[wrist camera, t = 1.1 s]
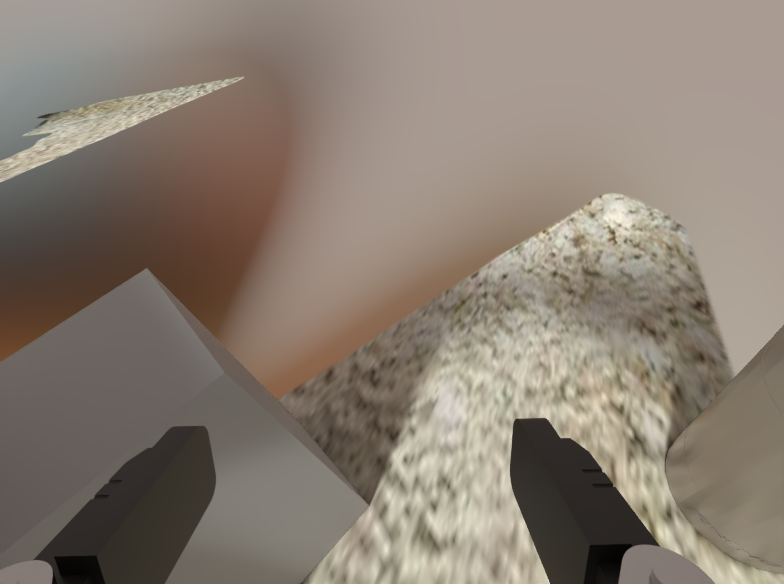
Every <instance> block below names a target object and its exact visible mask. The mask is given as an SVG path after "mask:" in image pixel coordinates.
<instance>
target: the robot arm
mask: <svg viewBox="0 0 784 584" xmlns="http://www.w3.org/2000/svg"><path fill="white" fill-rule="evenodd" d="M665 464H666V478H667V481H668V485H669V489H670V491H671V494H672V496H673V498H674V500H675V502H676V504H677V506H678V507H679V509H680V510H681V511H682V513H683V514H684V516H685V517H686V519H687V520H688V521H689V522H690V523H691V524H692V525H693V526H694V528H695V529H696V530H697V531H698V532H699V533H700V534H701V535H702V536H703V537H705V538H706V539H707V540H708V541H709V542H711V543H712V544H713V545H714V546H716V547H717V548H718V549H720V550H721V551H723V552H725V553H726V554H728V555H730V556H731V557H733V558H735V559H736V560H738V561H740V562H743V563H745V564H748V565H750V566H752V567H755V568H757V569H761V570H765V571H769V572H773V573H779V574H784V326H783V327H782V328H781V329H780V330H779V331H778V332H777V333H776V334H775V335H774V337H773V338H772V339H771V340H770V341H769V342H768V343H767V344H766V345H765V346H764V347H763V348H762V349H761V350H760V351H759V353H757V355H756V356H755V357H754V358H753V359H752V360H751V361H750V362H749V363H748V364H747V365H746V366H745V367H744V368H743V369H742V370H741V371H740V373H739V374H738V375H737V376H736V377H735V378H734V379H733V380H732V381H731V382H730V383H729V384H728V385H727V386H726V387H725V388H724V389H723V390H722V391H721V393H720V394H719V395H718V396H717V397H716V398H715V399H714V400H713V401H712V402H711V403H710V404H709V405H708V406H707V407H706V408H705V409H704V410H703V411H702V413H701V414H700V415H699V416H697V417H696V418H695V419H694V421H693V422H692V423H691V424H690V425H689V426H688V427H687V428H686V429H685V430H684V431H683V432H682V433H681V434H680V435H679V436H678V437H677V438H676V440H675V441H674V442H673V444H672V445H671V447H670V449H669V450H668V454H667V458H666V462H665ZM510 477H511V484H512V489H513V492H514V495H515V498H516V500H517V503H518V505H519V508H520V510H521V513H522V515H523V518H524V520H525V523H526V525H527V528H528V530H529V532H530V535H531V537H532V540H533V542H534V545H535V547H536V550H537V552H538V555H539V557H540V559H541V562H542V564H543V567H544V569H545V572H546V574H547V577H548V579H549V582H550V584H715V583H714V582H713V581H712V579H711V578H710V577H709V576H708V575H707V574H706V573H705V572H703V571H702V570H701V569H700V568H699V567H698V566H696V565H695V564H694V563H692V562H691V561H689V560H688V559H686V558H684V557H683V556H681V555H679V554H677V553H675V552H673V551H671V550H668V549H666V548H662V547H660V546H659V544H658V543H657V542H656V540H655V539H654V538H653V536H652V535H651V534H650V532H649V531H648V530H647V528H646V527H645V526H644V524H643V523H642V522H641V520H640V519H639V518H638V516H637V515H636V514H635V512H634V511H633V510H632V509H631V507H630V506H629V505H628V503H627V502H626V501H625V499H624V498H623V497H622V495H621V494H620V493H619V491H618V490H617V489H616V487H613V483H612V482H611V481H610V479H609V478H608V477H607V475H606V474H605V473H603V472H602V469H601V467H600V466H599V465H598V463H597V462H596V461H595V459H594V458H593V457H592V455H591V454H590V453H589V452H588V451H587V450H585V449H584V448H583V447H581V446H580V445H579V444H577V443H576V442H575V441H573V440H572V439H571V438H560V437H559V435H558V434H557V432H556V431H555V430H554V428H553V427H552V425H551V424H550V422H549V421H548V420H547V419H546V418H530V419H515V421H514V425H513V436H512V449H511V462H510ZM215 486H216V472H215V466H214V461H213V455H212V450H211V444H210V439H209V434H208V430H207V428H206V427H205V426H174V427H171V428H170V429H169V430H168V431H167V432H166V433H165V434H164V435H163V436H162V437H161V438H160V439H159V441H158V442H157V443H156V444H155V445H154V446H153V447H152V448H147V449H145V450H144V451H142V452H141V453H139V454H138V455H136V456H135V457H133V458H132V459H130V460H129V461H127V462H126V463H125V464H124V465H123V466H122V467H121V468H120V469H119V470H118V471H117V472H116V473H115V474H114V475H113V476H112V477H111V478H110V479H109V483H108V484H105V485H104V486H103V487H102V488H101V489H100V490H99V491H98V492H97V493H96V494H95V497H94V499H90V501H89V502H88V503H87V504H86V505H85V506H84V507H83V508H82V509H81V510H80V511H79V512H78V513H77V514H76V515H75V516H74V517H73V518H72V519H71V521H70V522H69V523H68V524H67V525H66V526H65V527H64V528H63V529H62V530H61V531H60V532H59V533H58V534H57V535H56V536H55V537H54V538H53V539H52V541H51V542H50V543H49V544H48V545H47V546H46V547H45V548H44V549H43V550H42V551H41V552H40V553H39V554H38V555H37V556H36V557H35V558H34V559H33V560H31V561H25V562H21V563H17V564H14V565H11V566H9V567H6V568H4V569H2V570H0V584H165V582H166V581H167V579H168V577H169V575H170V574H171V572H172V570H173V568H174V566H175V565H176V563H177V561H178V559H179V558H180V556H181V554H182V552H183V550H184V549H185V547H186V545H187V543H188V542H189V540H190V538H191V536H192V534H193V533H194V531H195V529H196V527H197V526H198V524H199V522H200V520H201V518H202V517H203V515H204V513H205V511H206V510H207V508H208V506H209V504H210V502H211V500H212V498H213V495H214V491H215Z"/></svg>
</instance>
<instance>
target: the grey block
mask: <svg viewBox="0 0 784 584" xmlns="http://www.w3.org/2000/svg"><path fill="white" fill-rule="evenodd" d="M174 426H205V427H206V428H207V430H208V434H209V439H210V444H211V450H212V455H213V461H214V466H215V472H216V486H215V491H214V495H213V498H212V500H211V502H210V504H209V506H208V508H207V510H206V511H205V513H204V515H203V517H202V518H201V520H200V522H199V524H198V526H197V527H196V529H195V531H194V533H193V534H192V536H191V538H190V540H189V542H188V543H187V545H186V547H185V549H184V550H183V552H182V554H181V556H180V558H179V559H178V561H177V563H176V565H175V566H174V568H173V570H172V572H171V574H170V575H169V577H168V579H167V581H166V582H165V584H301V583H302V582H303V581H304V580H305V579H306V577H307V576H308V575H309V574H310V573H311V572H312V571H313V569H314V568H315V567H316V566H317V565H318V564H319V563H320V561H321V560H322V559H323V558H324V557H325V556H326V555H327V553H328V552H329V551H330V550H331V549H332V548H333V547H334V546H335V544H336V543H337V542H338V541H339V540H340V539H341V538H342V536H343V535H344V534H345V533H346V532H347V531H348V530H349V528H350V527H351V526H352V525H353V524H354V523H355V522H356V520H357V519H358V518H359V517H360V516H361V515H362V514H363V513H364V511H365V510H366V509H367V508H368V507H369V505H368V504H367V502H366V501H365V500H364V499H363V498H362V496H361V495H360V494H359V493H358V492H357V491H356V489H355V488H354V487H353V486H352V485H351V483H350V482H349V481H348V480H347V479H346V477H345V476H344V475H343V474H342V473H341V471H340V470H339V469H338V468H337V467H336V465H335V464H334V463H333V462H332V461H331V460H330V458H329V457H328V456H327V455H326V454H325V452H324V451H323V450H322V449H321V448H320V446H319V445H318V444H317V443H316V442H315V440H314V439H313V438H312V437H311V436H310V434H309V433H308V432H307V431H306V430H305V429H304V427H303V426H302V425H301V424H300V423H299V422H298V421H297V420H296V419H295V418H294V417H293V416H292V415H291V414H290V413H289V412H288V411H287V410H286V409H285V408H284V407H283V406H282V405H281V404H280V403H279V402H278V401H277V400H276V399H275V398H274V397H273V396H272V395H271V394H270V393H269V392H268V391H267V390H266V389H265V388H264V387H263V386H262V385H261V384H260V383H259V382H258V381H257V380H256V379H255V377H253V376H252V374H251V373H250V372H249V371H248V370H247V369H246V368H245V367H244V366H243V365H242V364H241V363H240V362H239V361H238V360H237V359H236V358H235V357H234V356H233V355H232V354H231V353H230V352H229V351H228V350H227V349H226V348H225V347H224V346H223V345H222V344H221V343H220V342H219V341H218V340H217V339H216V338H215V337H214V336H213V335H212V334H211V333H210V332H209V331H208V330H207V329H206V328H205V327H204V326H203V325H202V324H201V323H200V322H199V321H198V320H197V319H196V318H195V317H194V316H193V315H192V314H191V313H190V312H189V311H188V310H187V309H186V308H185V307H184V306H183V305H182V304H181V303H180V302H179V301H178V299H177V298H175V296H173V294H172V293H171V292H170V291H169V290H167V288H166V287H165V286H164V285H163V284H162V283H161V282H160V281H159V280H158V279H157V278H156V277H155V276H154V275H153V274H152V273H151V272H150V271H149V270H148V269H145V270H143V271H142V272H140V273H139V274H137V275H136V276H134V277H132V278H131V279H129V280H128V281H126V282H125V283H123V284H122V285H120V286H118V287H117V288H115V289H114V290H112V291H111V292H109V293H108V294H106V295H105V296H103V297H101V298H100V299H98V300H97V301H95V302H94V303H92V304H90V305H89V306H87V307H86V308H84V309H83V310H81V311H80V312H78V313H76V314H75V315H73V316H72V317H70V318H69V319H67V320H66V321H64V322H63V323H61V324H59V325H58V326H56V327H55V328H53V329H52V330H50V331H48V332H47V333H45V334H44V335H42V336H41V337H39V338H38V339H36V340H35V341H33V342H31V343H30V344H28V345H27V346H25V347H24V348H22V349H20V350H19V351H17V352H16V353H15V354H13V355H11V356H10V357H8V358H7V359H5V360H3V361H2V362H0V570H2V569H4V568H6V567H9V566H11V565H14V564H17V563H21V562H25V561H31V560H33V559H34V558H35V557H36V556H37V555H38V554H39V553H40V552H41V551H42V550H43V549H44V548H45V547H46V546H47V545H48V544H49V543H50V542H51V541H52V539H53V538H54V537H55V536H56V535H57V534H58V533H59V532H60V531H61V530H62V529H63V528H64V527H65V526H66V525H67V524H68V523H69V522H70V521H71V519H72V518H73V517H74V516H75V515H76V514H77V513H78V512H79V511H80V510H81V509H82V508H83V507H84V506H85V505H86V504H87V503H88V502H89V501H90V499H94V497H95V494H96V493H97V492H98V491H99V490H100V489H101V488H102V487H103V486H104V485H105V484H108V483H109V479H110V478H111V477H112V476H113V475H114V474H115V473H116V472H117V471H118V470H119V469H120V468H121V467H122V466H123V465H124V464H125V463H126V462H127V461H129V460H130V459H132V458H133V457H135V456H136V455H138V454H139V453H141V452H142V451H144V450H145V449H147V448H152V447H153V446H154V445H155V444H156V443H157V442H158V441H159V439H160V438H161V437H162V436H163V435H164V434H165V433H166V432H167V431H168V430H169V429H170V428H171V427H174Z"/></svg>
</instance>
